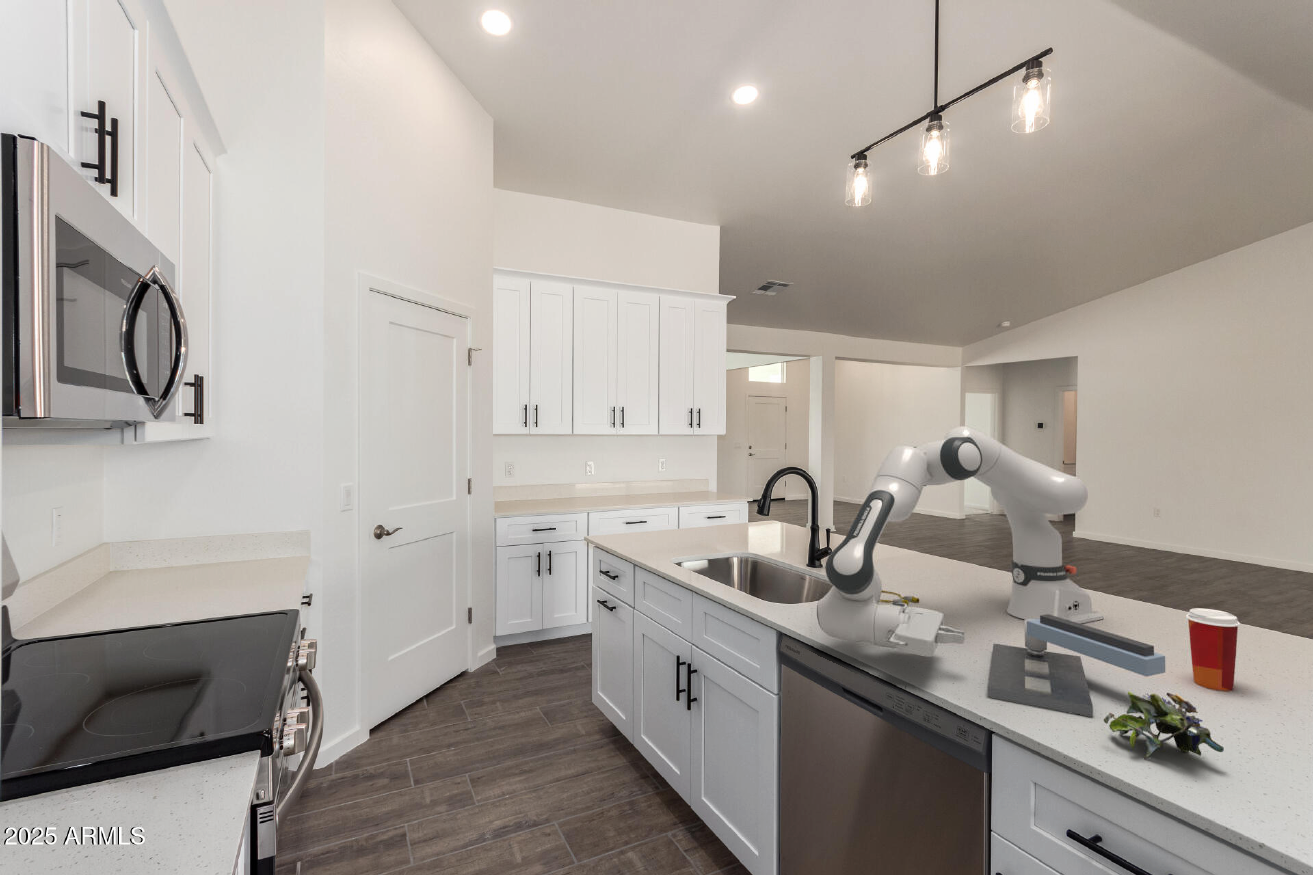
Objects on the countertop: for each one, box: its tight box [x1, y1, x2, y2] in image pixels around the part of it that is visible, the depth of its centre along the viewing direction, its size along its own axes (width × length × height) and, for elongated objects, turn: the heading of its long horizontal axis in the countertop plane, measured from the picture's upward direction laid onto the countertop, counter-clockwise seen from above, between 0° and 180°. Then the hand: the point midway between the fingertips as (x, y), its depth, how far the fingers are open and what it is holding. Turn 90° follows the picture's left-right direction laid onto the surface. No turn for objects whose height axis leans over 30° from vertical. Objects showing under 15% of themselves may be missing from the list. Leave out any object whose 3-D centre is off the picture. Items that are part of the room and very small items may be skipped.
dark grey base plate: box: [987, 643, 1094, 718], centre depth 118 cm, size 26×16×3 cm, turn 148°
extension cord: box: [879, 590, 920, 607], centre depth 177 cm, size 12×16×2 cm
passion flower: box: [1103, 690, 1224, 760], centre depth 91 cm, size 11×11×12 cm
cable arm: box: [1024, 614, 1166, 677], centre depth 117 cm, size 25×5×8 cm, turn 19°
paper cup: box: [1185, 607, 1241, 692], centre depth 115 cm, size 8×8×14 cm
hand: (964, 637), depth 120 cm, fingers closed
